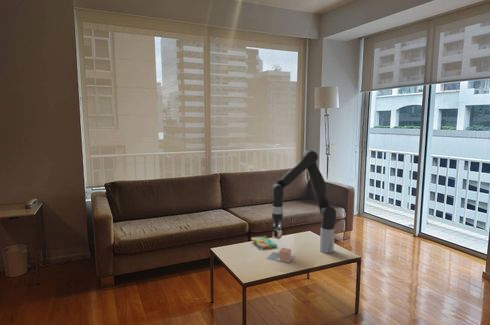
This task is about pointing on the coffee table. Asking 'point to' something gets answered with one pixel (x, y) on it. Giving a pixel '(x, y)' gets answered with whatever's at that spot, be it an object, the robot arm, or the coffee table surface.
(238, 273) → the coffee table surface
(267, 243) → the puzzle game
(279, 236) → the maple cube
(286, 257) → the terracotta base block
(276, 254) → the blueprint board
